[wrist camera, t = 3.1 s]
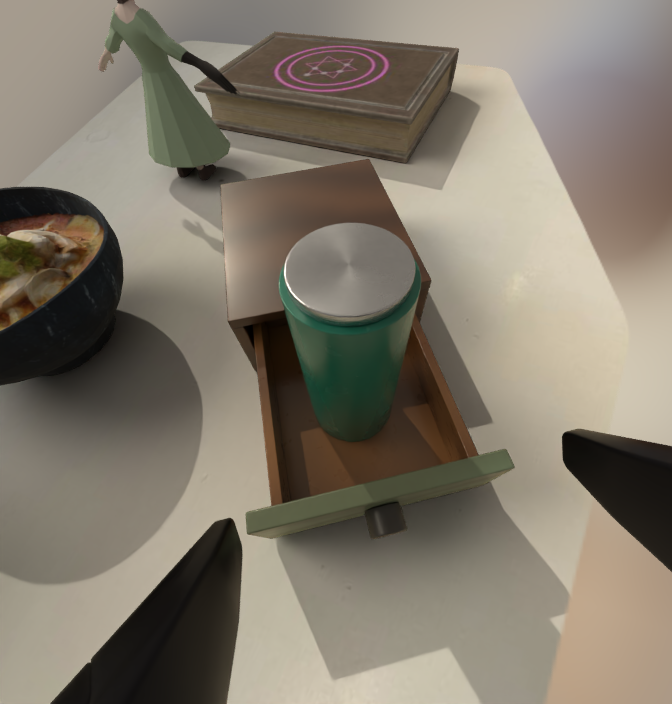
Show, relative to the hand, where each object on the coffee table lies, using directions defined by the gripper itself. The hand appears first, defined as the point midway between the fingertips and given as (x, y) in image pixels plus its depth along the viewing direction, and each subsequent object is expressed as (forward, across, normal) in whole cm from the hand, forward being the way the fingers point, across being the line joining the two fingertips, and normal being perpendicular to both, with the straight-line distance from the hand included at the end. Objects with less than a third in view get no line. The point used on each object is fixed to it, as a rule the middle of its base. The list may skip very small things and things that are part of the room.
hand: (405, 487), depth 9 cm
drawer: (+15, 0, +4) cm, 15 cm away
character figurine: (+41, +10, -21) cm, 47 cm away
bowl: (+25, +22, -5) cm, 34 cm away
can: (+14, 0, +3) cm, 14 cm away
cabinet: (+24, 0, -5) cm, 25 cm away
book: (+50, -10, -29) cm, 58 cm away
